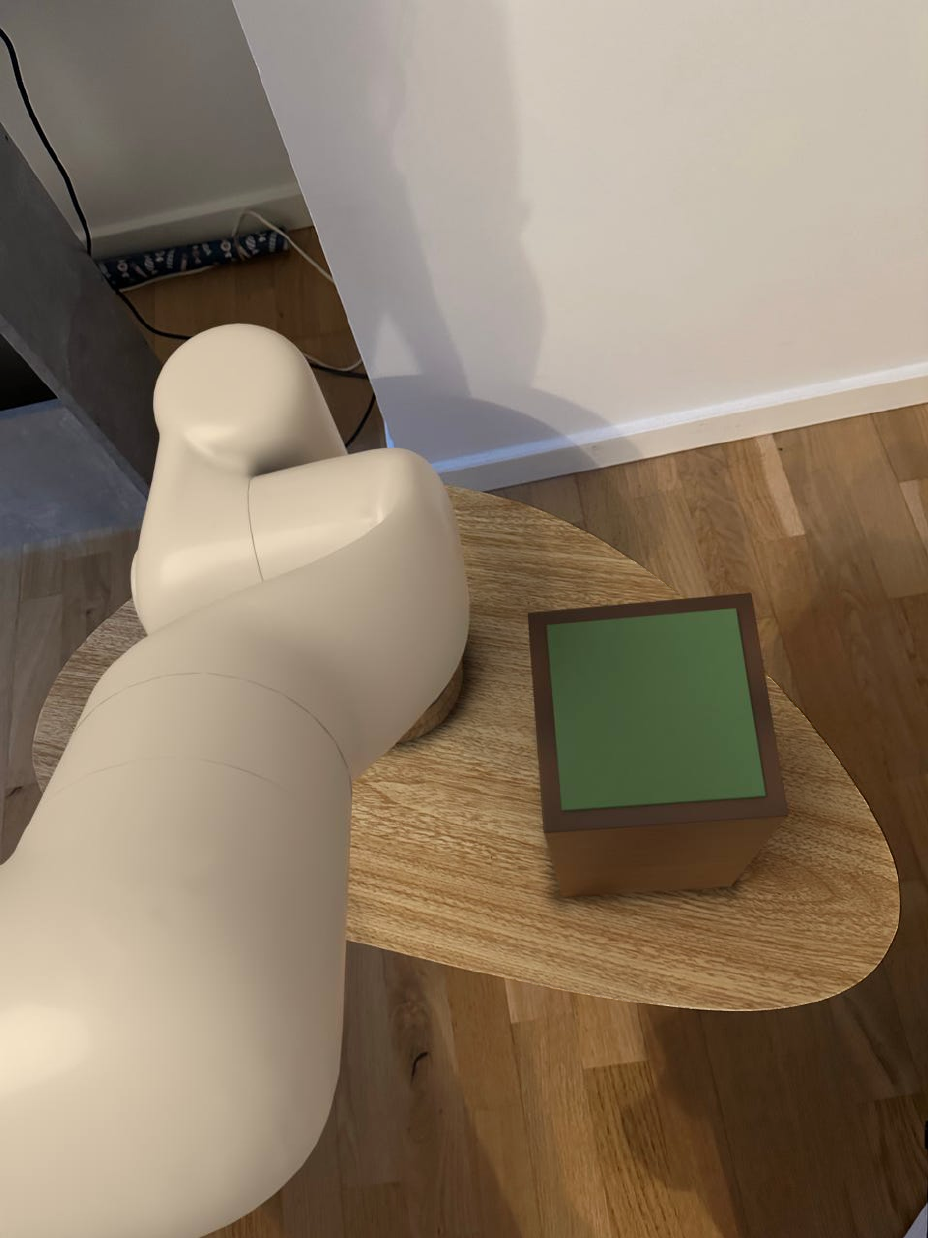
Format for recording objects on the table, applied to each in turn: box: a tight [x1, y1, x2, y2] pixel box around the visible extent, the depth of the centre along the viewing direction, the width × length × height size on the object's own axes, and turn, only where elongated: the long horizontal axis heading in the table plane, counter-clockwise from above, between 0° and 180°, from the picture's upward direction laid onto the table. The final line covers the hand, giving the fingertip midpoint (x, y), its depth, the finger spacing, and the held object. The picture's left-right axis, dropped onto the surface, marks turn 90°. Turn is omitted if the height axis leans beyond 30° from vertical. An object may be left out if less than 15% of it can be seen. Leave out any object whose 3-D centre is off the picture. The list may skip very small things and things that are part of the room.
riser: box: [527, 592, 789, 898], centre depth 65 cm, size 12×12×25 cm
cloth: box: [547, 608, 766, 811], centre depth 53 cm, size 10×10×1 cm
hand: (366, 629), depth 73 cm, fingers closed on beverage can, 5 cm apart
